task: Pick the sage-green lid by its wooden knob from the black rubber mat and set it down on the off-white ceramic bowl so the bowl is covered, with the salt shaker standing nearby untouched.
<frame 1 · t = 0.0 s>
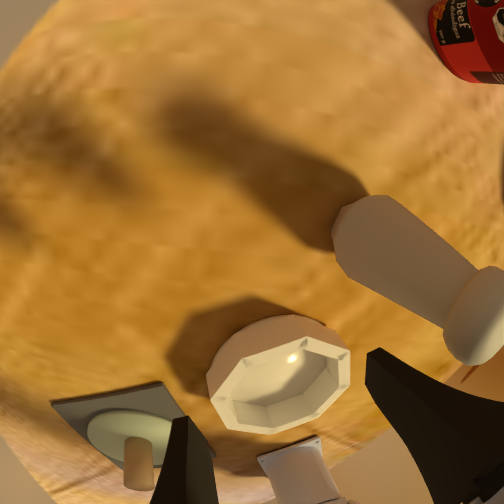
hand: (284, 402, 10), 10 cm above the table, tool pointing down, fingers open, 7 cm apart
salt shaker: (354, 227, 20), on the table
canned food: (453, 41, 16), on the table
lid: (138, 439, 23), resting on mat
bowl: (274, 366, 23), on the table
mat: (138, 436, 24), on the table
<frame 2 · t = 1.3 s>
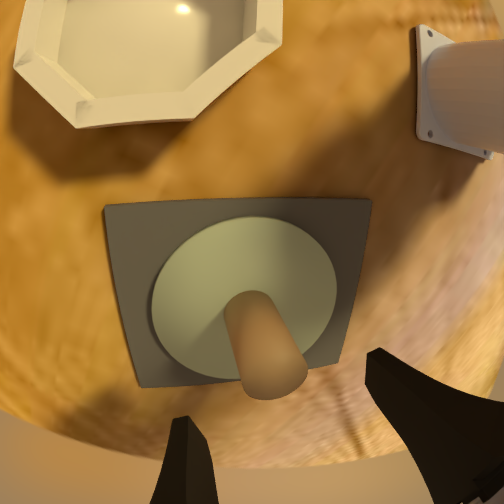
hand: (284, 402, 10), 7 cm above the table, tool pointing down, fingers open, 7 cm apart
lid: (247, 306, 16), resting on mat
bowl: (149, 20, 10), on the table
mat: (245, 303, 17), on the table
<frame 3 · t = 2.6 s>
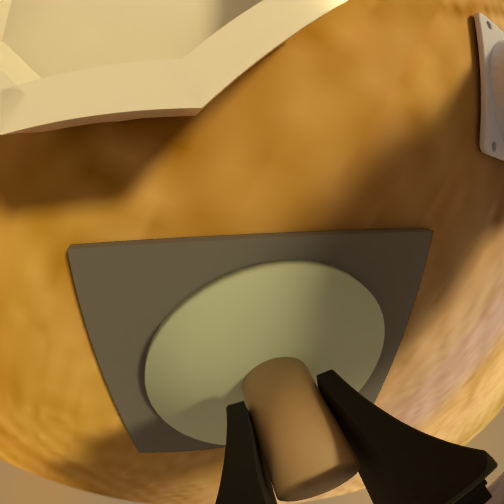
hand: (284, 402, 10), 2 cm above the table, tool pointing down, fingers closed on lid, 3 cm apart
lid: (271, 371, 12), resting on mat, touching gripper
mat: (269, 365, 12), on the table
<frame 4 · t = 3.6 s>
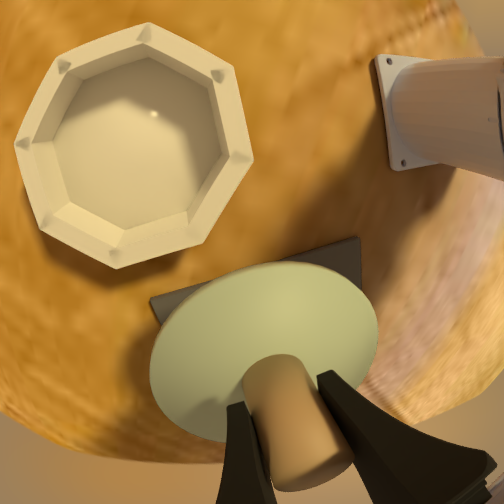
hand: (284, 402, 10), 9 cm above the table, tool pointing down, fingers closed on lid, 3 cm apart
lid: (270, 369, 13), point 7 cm above the table, touching gripper
bowl: (134, 143, 14), on the table
mat: (274, 337, 21), on the table
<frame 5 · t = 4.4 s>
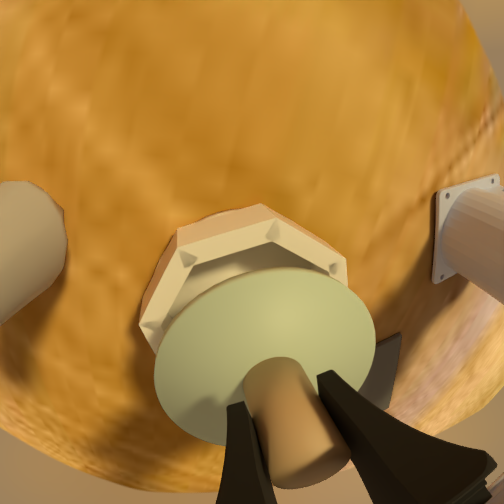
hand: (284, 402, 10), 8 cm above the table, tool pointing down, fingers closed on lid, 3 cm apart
salt shaker: (37, 223, 13), on the table
lid: (270, 372, 13), point 6 cm above the table, tilted 6°, touching gripper
bowl: (241, 295, 18), on the table
mat: (331, 404, 25), on the table
when the fingers open (6 cm above the table, at t = 5.0 s): lid stays where it is, resting on bowl.
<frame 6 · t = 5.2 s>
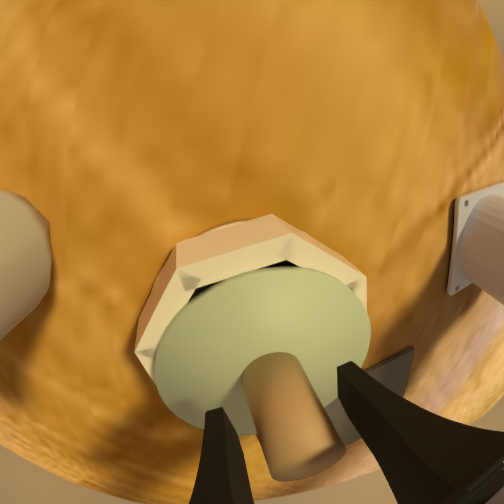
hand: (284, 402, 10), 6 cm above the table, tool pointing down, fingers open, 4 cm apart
salt shaker: (21, 236, 11), on the table
lid: (267, 365, 13), point 3 cm above the table, touching bowl
bowl: (248, 314, 16), on the table
mat: (339, 419, 23), on the table
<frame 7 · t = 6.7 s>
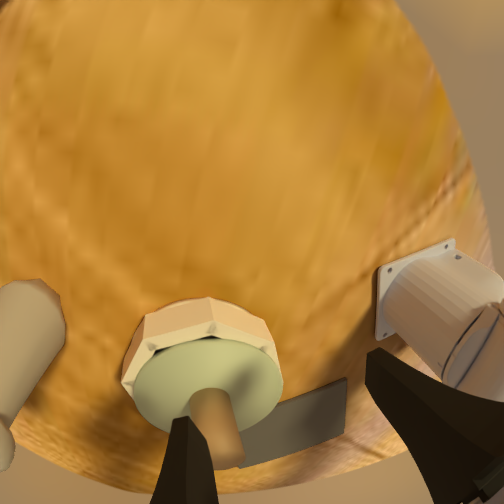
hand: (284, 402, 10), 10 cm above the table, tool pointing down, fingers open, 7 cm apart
salt shaker: (39, 302, 17), on the table
lid: (208, 394, 19), point 3 cm above the table, touching bowl
bowl: (199, 356, 21), on the table
mat: (286, 430, 29), on the table
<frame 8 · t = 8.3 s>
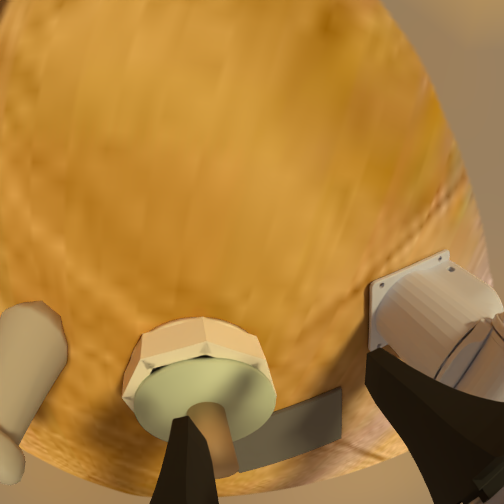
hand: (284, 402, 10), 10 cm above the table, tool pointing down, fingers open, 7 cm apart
salt shaker: (42, 321, 18), on the table
lid: (204, 407, 20), point 3 cm above the table, touching bowl
bowl: (196, 370, 22), on the table
mat: (284, 436, 29), on the table
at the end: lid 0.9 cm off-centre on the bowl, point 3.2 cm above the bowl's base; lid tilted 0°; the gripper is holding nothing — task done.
